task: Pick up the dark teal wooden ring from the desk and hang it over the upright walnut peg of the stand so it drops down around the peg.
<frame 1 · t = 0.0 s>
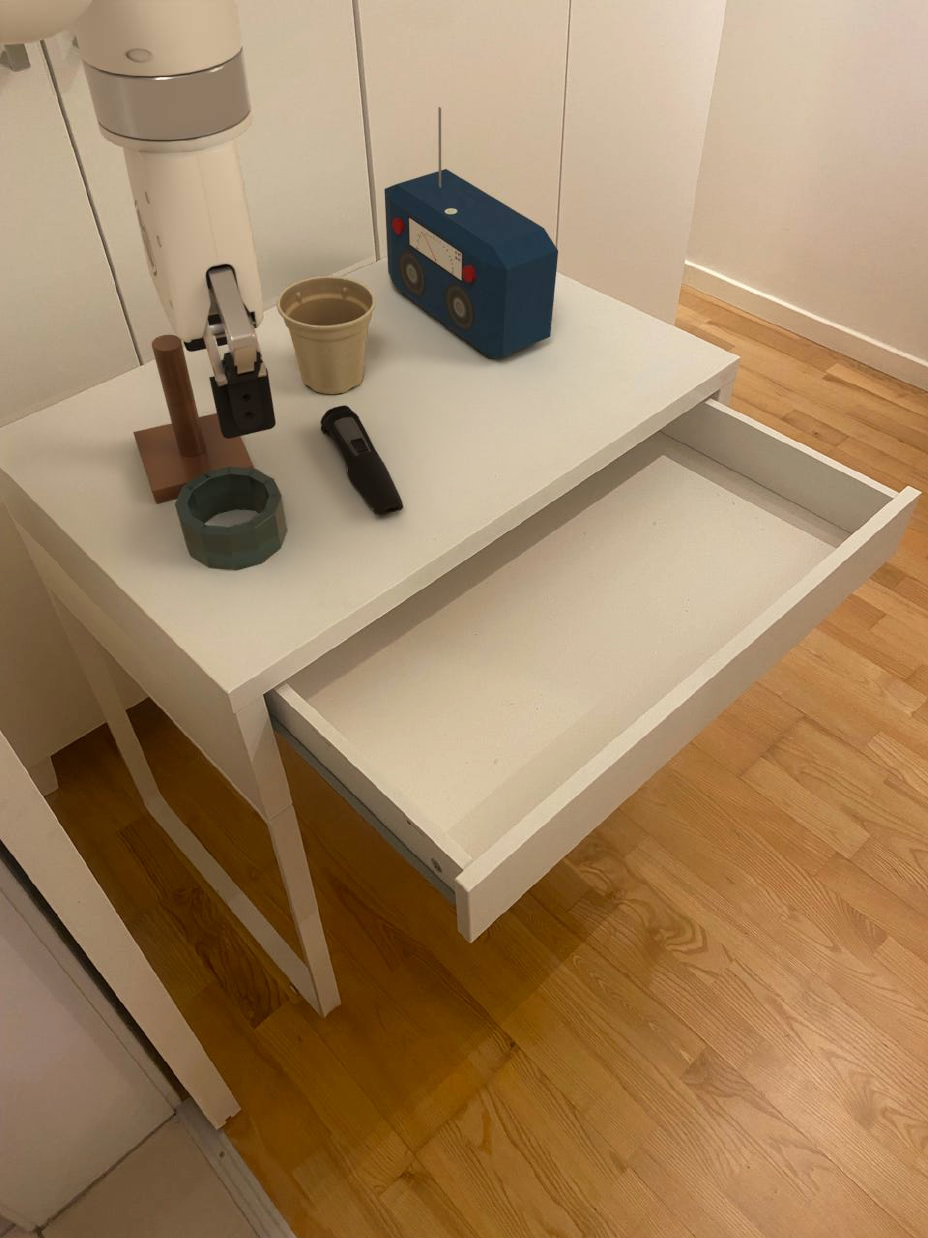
hand: (228, 386, 60), 21 cm above the table, tool pointing down, fingers open, 9 cm apart
electric trimmer: (364, 471, 88), on the table
flower pot: (334, 379, 98), on the table
stand: (195, 461, 88), on the table
radio: (463, 316, 106), on the table
ring: (236, 534, 82), on the table
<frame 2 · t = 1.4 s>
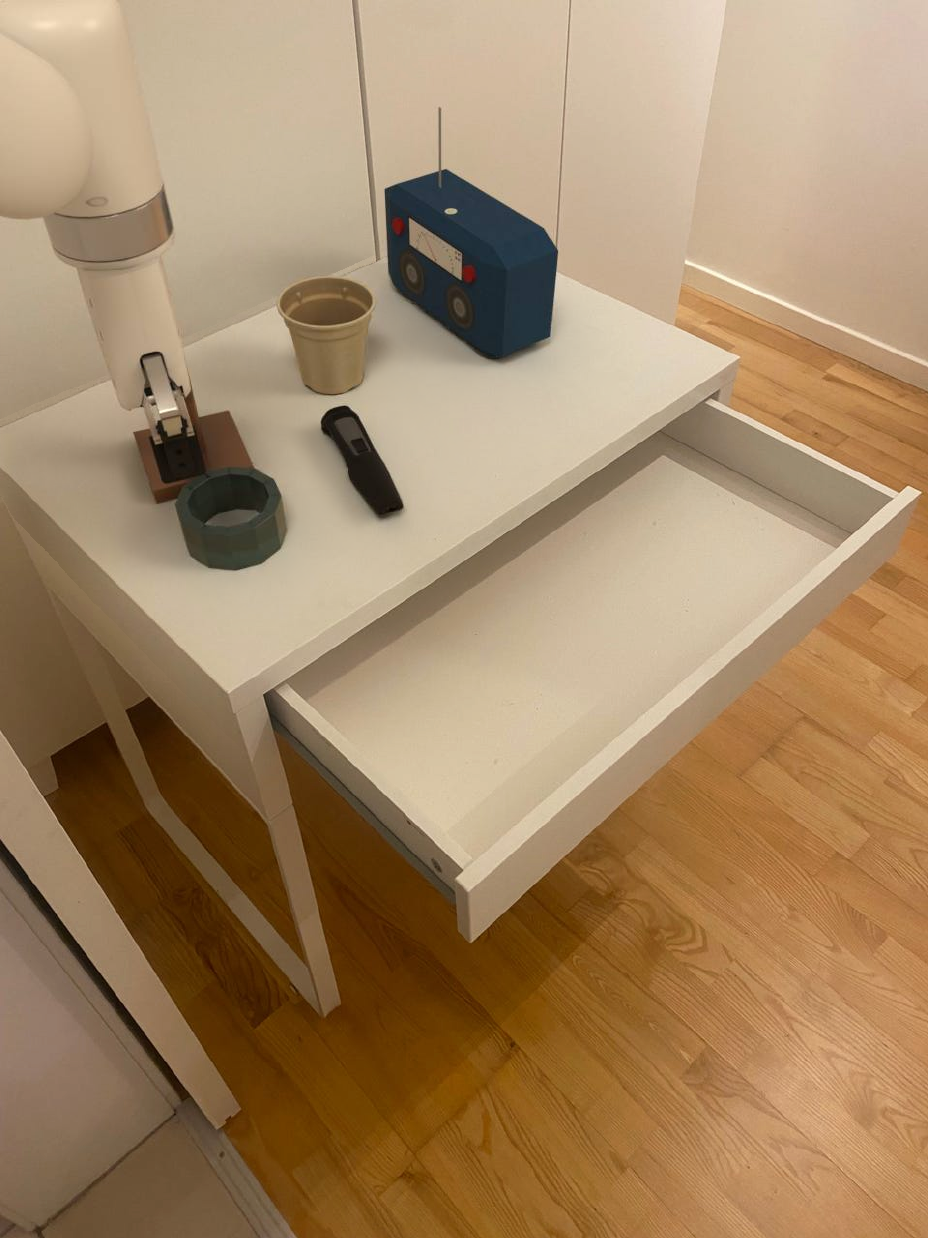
hand: (170, 437, 73), 11 cm above the table, tool pointing down, fingers open, 9 cm apart
nothing on the table moved.
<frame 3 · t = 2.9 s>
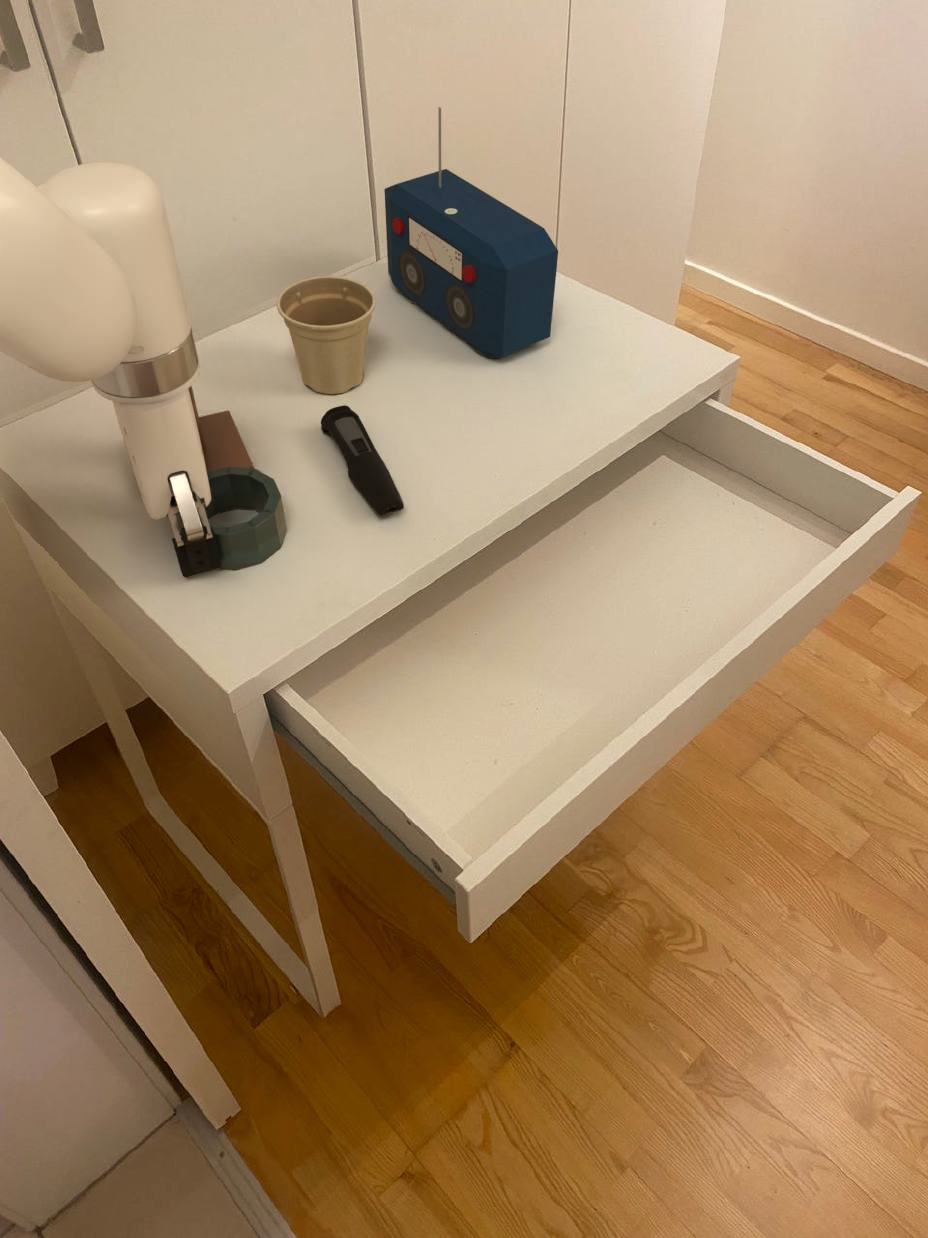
hand: (191, 538, 80), 1 cm above the table, tool pointing down, fingers closed on ring, 7 cm apart
ring: (235, 534, 82), on the table, touching gripper
everything else where it was.
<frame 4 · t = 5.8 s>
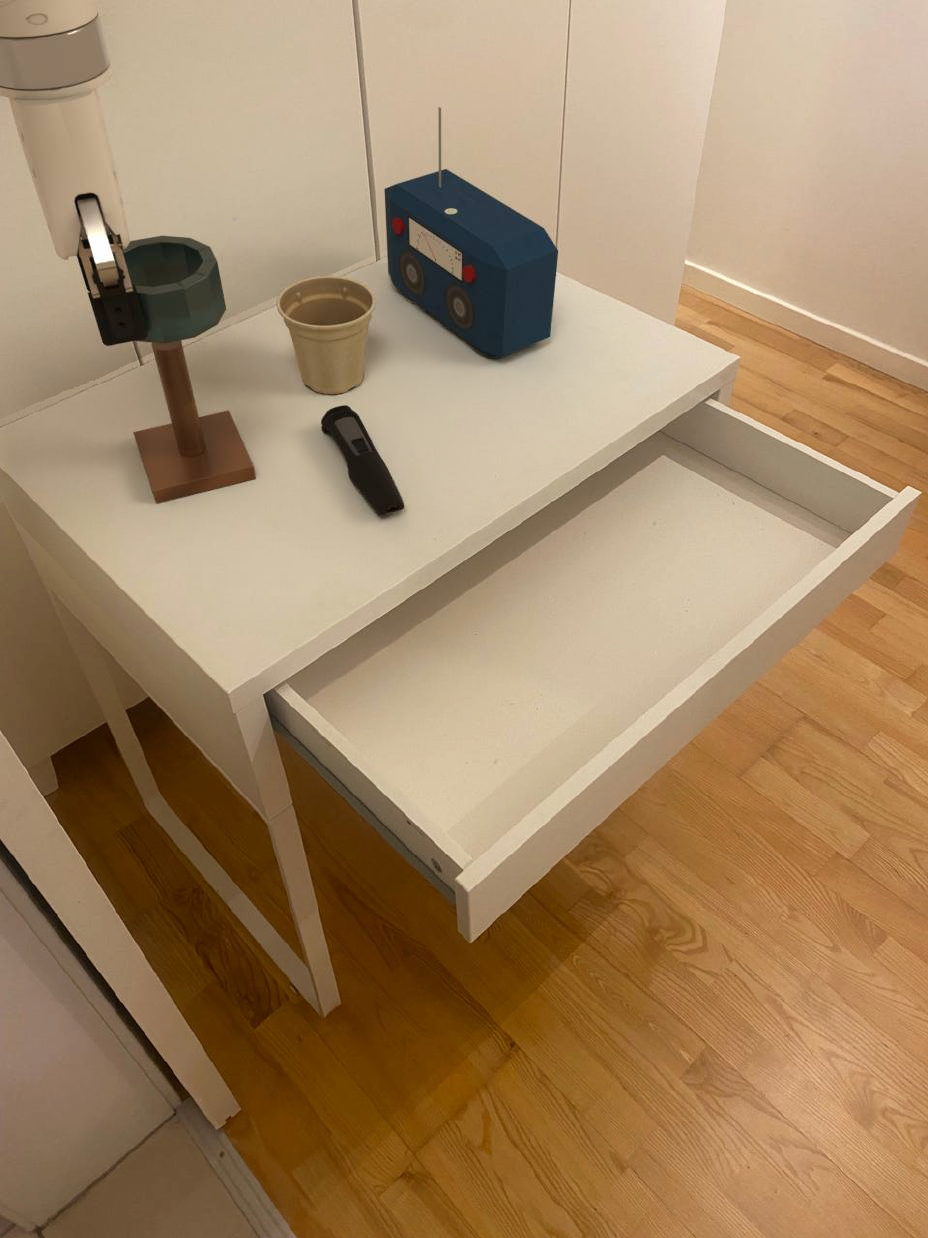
hand: (116, 311, 72), 18 cm above the table, tool pointing down, fingers closed on ring, 7 cm apart
ring: (168, 312, 73), point 17 cm above the table, touching gripper
everything else where it was.
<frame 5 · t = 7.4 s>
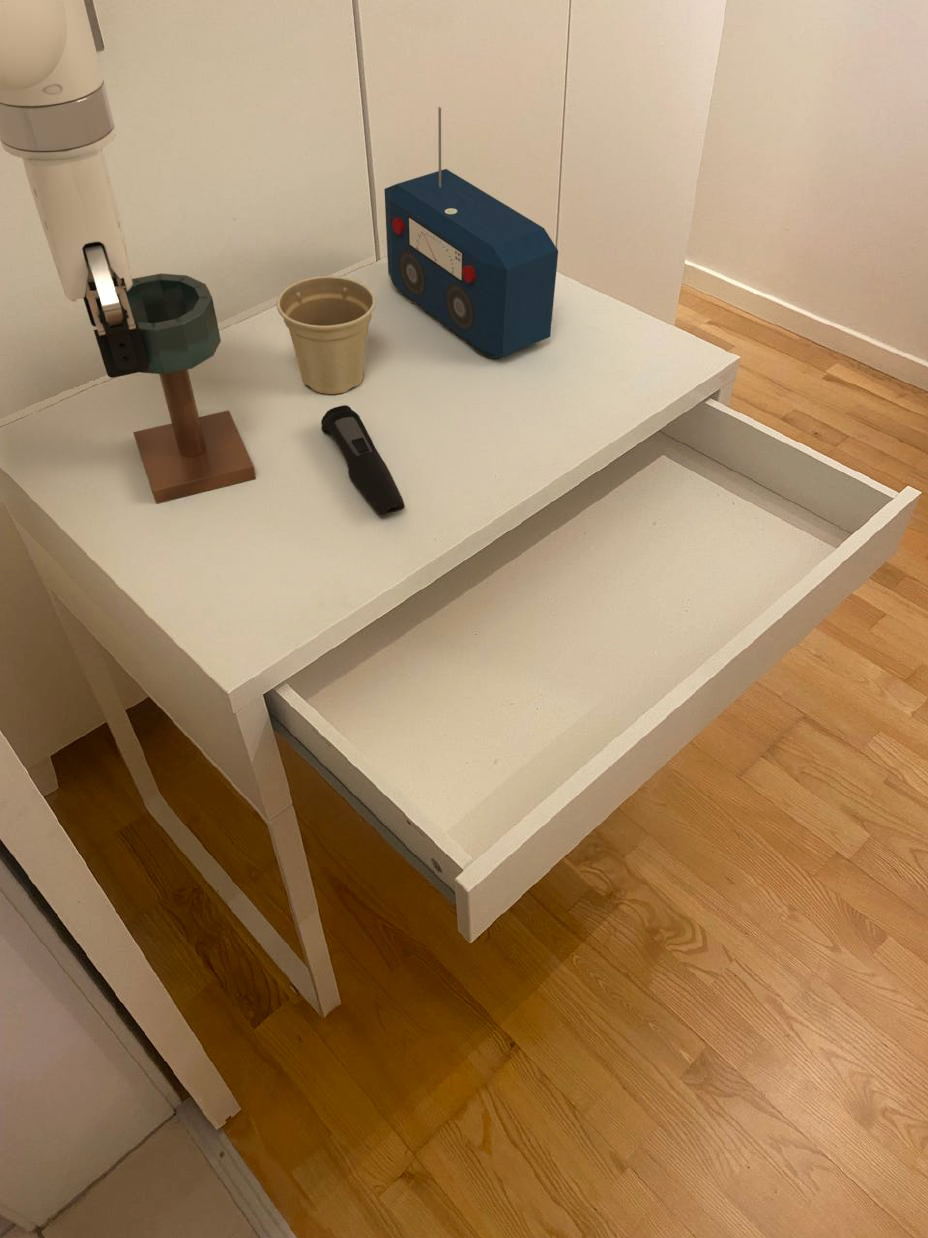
hand: (119, 345, 78), 13 cm above the table, tool pointing down, fingers closed on ring, 7 cm apart
ring: (167, 344, 79), point 12 cm above the table, touching gripper
everything else where it was.
when the fingers open (11 cm above the table, at t = 8.6 s): ring drops 8 cm, resting on stand.
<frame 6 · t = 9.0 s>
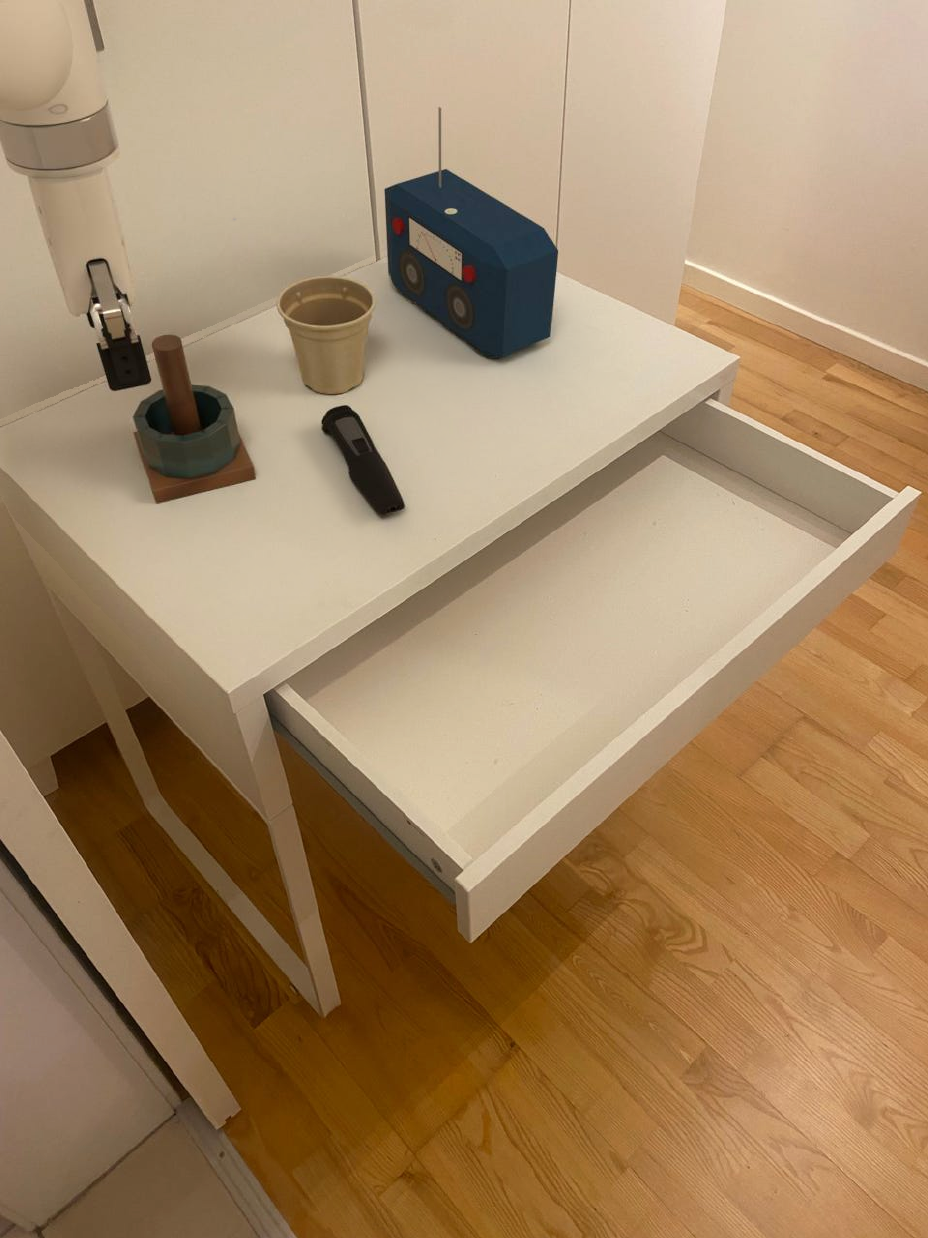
hand: (120, 353, 78), 12 cm above the table, tool pointing down, fingers open, 9 cm apart
ring: (192, 448, 87), point 1 cm above the table, touching stand
everything else where it was.
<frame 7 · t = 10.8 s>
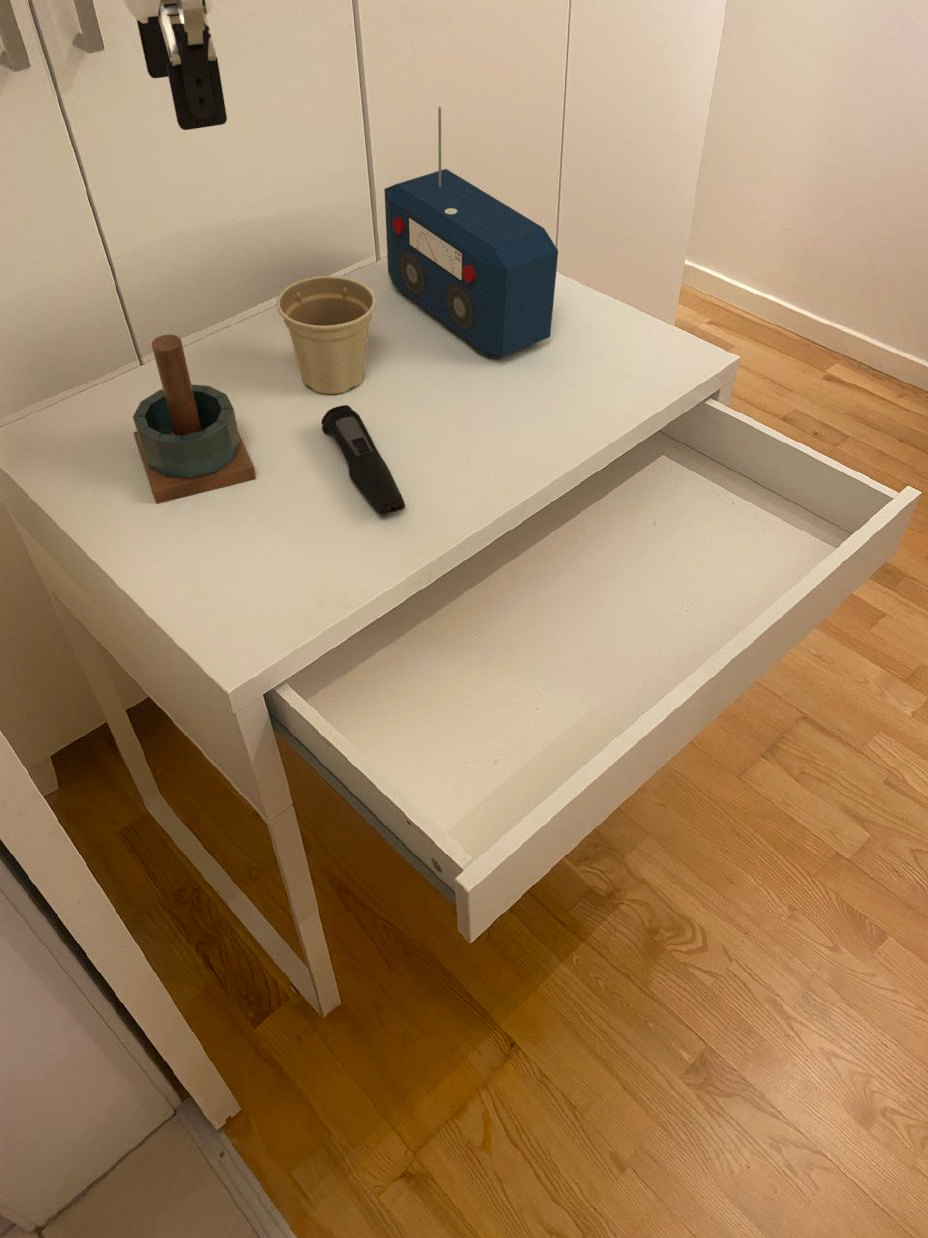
hand: (186, 98, 67), 31 cm above the table, tool pointing down, fingers open, 9 cm apart
nothing on the table moved.
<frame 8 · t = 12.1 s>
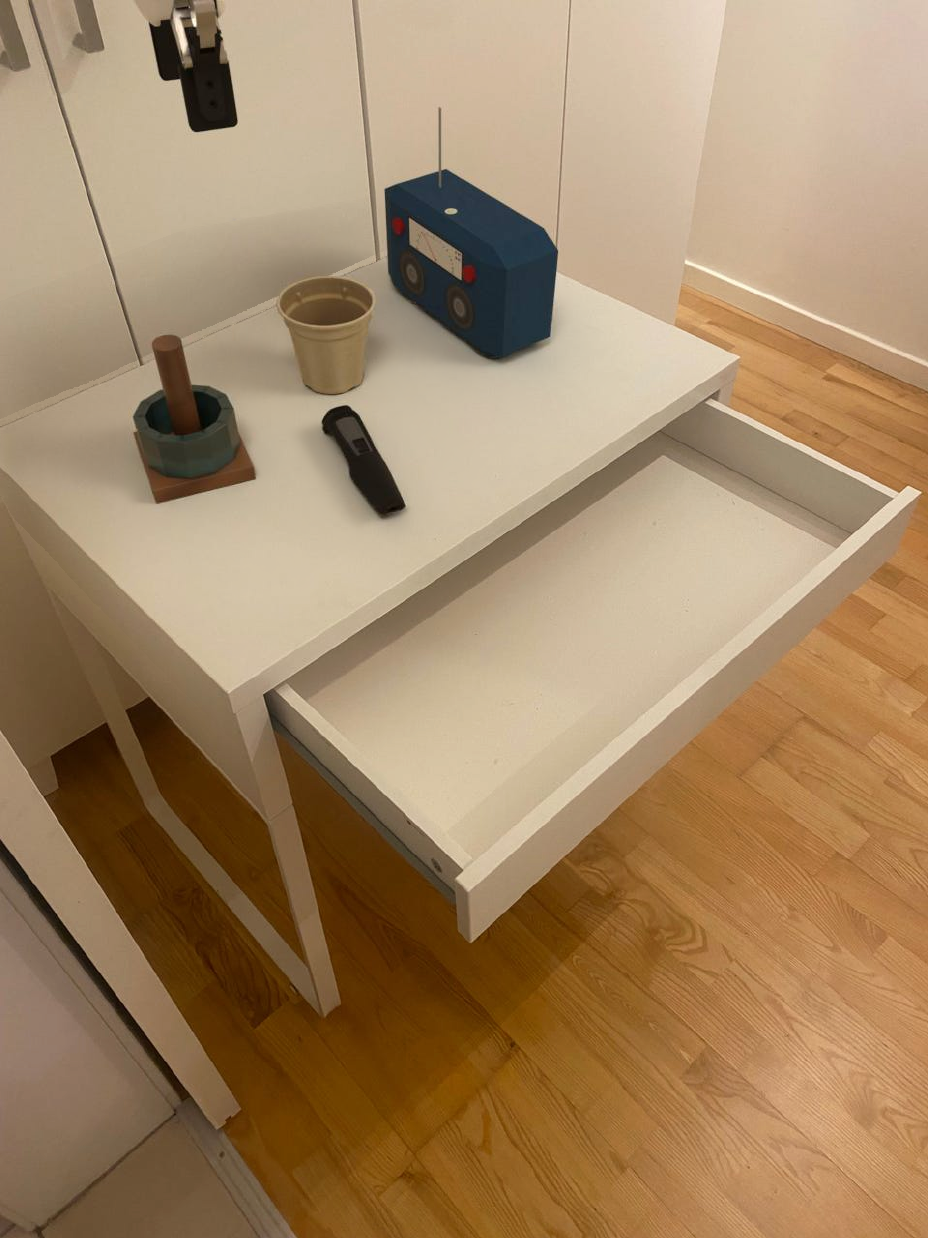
hand: (197, 101, 67), 30 cm above the table, tool pointing down, fingers open, 9 cm apart
nothing on the table moved.
at the end: ring 0.0 cm from the stand (horizontally); ring point 1.5 cm above the table; the gripper is holding nothing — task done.
